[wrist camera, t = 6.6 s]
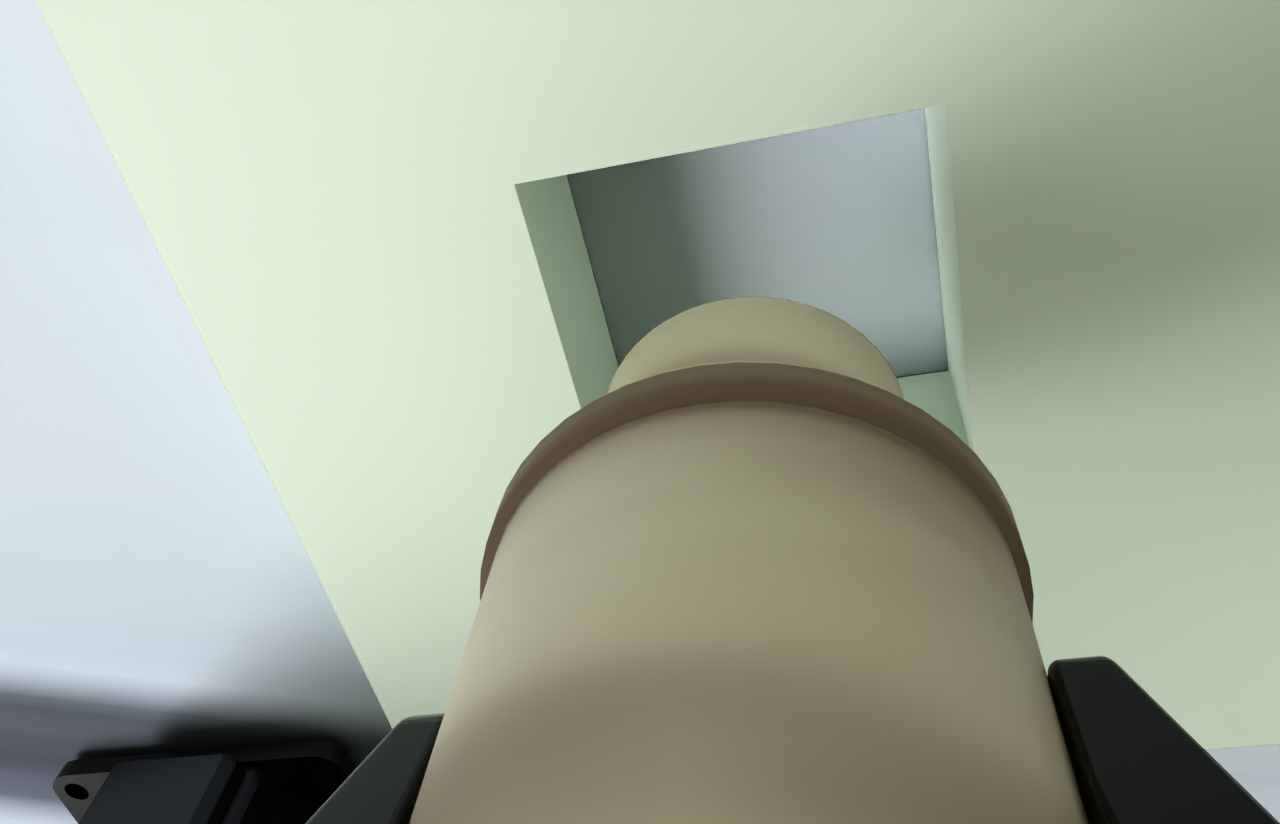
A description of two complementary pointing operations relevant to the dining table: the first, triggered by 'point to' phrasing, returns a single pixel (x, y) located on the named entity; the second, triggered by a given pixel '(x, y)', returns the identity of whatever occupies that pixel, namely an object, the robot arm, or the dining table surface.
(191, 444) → the dining table surface
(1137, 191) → the board
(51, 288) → the dining table surface
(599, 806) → the peg
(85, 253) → the dining table surface
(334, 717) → the dining table surface
